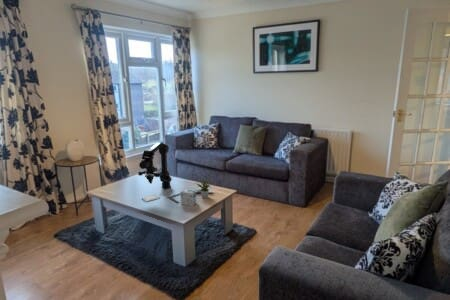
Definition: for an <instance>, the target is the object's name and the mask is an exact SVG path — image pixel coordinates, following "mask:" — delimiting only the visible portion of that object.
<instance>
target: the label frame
mask: <svg viewBox="0 0 450 300" xmlns="http://www.w3.org/2000/svg"><path fill="white" fill-rule="evenodd" d="M178 196H181V193H177V194H174V195H171V196H170V195H169V196H168V197H167V198H168V199H169V200H171V201H173V202H174V203H176V204H179V203H180V202H179V201H178V200H176V199H174V198H173V197H178Z"/></svg>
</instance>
